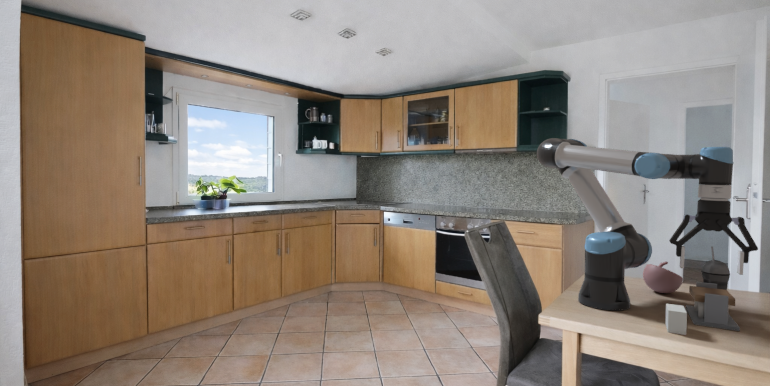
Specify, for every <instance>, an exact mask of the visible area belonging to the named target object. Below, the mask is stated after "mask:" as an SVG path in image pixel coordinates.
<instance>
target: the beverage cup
mask: <svg viewBox="0 0 770 386" xmlns="http://www.w3.org/2000/svg"><path fill="white" fill-rule="evenodd" d="M710 248H711V257H712V258H711V260H708V261H706V262H705V263H704V264H703V265H702V267H701V271H700V272H701V276H702V277H701V278H702V281H703V282H704V283H714V284H717V289H723V290H727V291H728V285H729V280H730V277H731V273H730V268H729V267H728V265H727V264H726V263H724V262H723V261H721V260H717V259H715V252H714V246H713V245H712V246H711V247H710Z"/></svg>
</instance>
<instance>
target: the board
mask: <svg viewBox="0 0 770 386" xmlns="http://www.w3.org/2000/svg"><path fill="white" fill-rule="evenodd" d="M705 293H707V294H716V295H725V296H728V305H729V306H730V307H736V298H735V297H734V296H733V295H732V294H731V293H730V292H729V291H728V289H727V290H723V289H714V288H705V287H696V286H694V285H689V295H690V296H691V297H692V299H693V301H694V302H695V301H697V302H705Z"/></svg>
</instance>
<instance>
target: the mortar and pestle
mask: <svg viewBox="0 0 770 386" xmlns="http://www.w3.org/2000/svg"><path fill="white" fill-rule="evenodd" d="M668 264H669V261H663V262H660V263H659V265H655V264H653V263H650V264H649V263H648V264H646V265H645V267H644V269H643V272H642V277H643V281H644V283H645V284H646V286H647V287H649V289H651V290H653V291H654V292H656V293H659V294H670V293H673V292H675V291H677V290H679V288H680V287H681V286H682V284H683V282H684V278H683V277H682V276H681V275H680V274H677V273H676V272H673V271H671V270H669V269H667V268H664V266H666V265H668Z"/></svg>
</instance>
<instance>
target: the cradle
mask: <svg viewBox="0 0 770 386" xmlns="http://www.w3.org/2000/svg"><path fill="white" fill-rule="evenodd" d="M695 283H696V284H695V285H696V287H705V288H714V289H717V284H714V283H704V282H702V281H696V282H695ZM685 310H686V312H687V315H689V318H690V320H691V322H692V324H693V325H696V326H701V327H702V326H703V327H709V328H716V329H723V330H729V331H737V332H740V330H741V327H740V326H739V324H737V322H736V321H735V319H733V317H732V316H731V315H730V313H729V305H728V296H725V295H716V294H707V293H705V302H697V301H694V305H689V304H685Z"/></svg>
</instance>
